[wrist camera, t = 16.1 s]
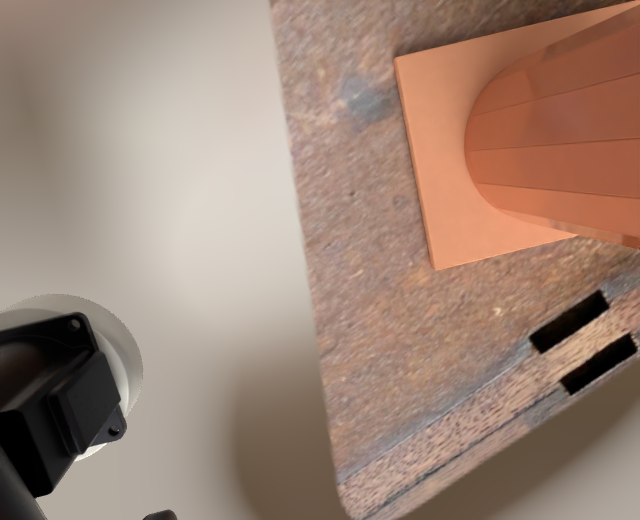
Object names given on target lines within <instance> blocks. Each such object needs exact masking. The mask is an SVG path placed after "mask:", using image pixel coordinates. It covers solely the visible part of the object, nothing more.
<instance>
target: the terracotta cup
mask: <svg viewBox="0 0 640 520" xmlns="http://www.w3.org/2000/svg"><path fill="white" fill-rule="evenodd" d="M464 149H465V159H466V164H467V168H468V171H469V174H470V177H471V179H472V181H473V183H474V185H475V187H476V188H477V190H478V191H479V193H480V194H481V196H482V197H483V198H484V199H485V200H486V201H487V202H488V203H489V204H490V205H492V206H493V207H494V208H495V209H497V210H499V211H500V212H502V213H504V214H506V215H508V216H511V217H514V218H517V219H519V220H521V221H523V222H527V223H531V224H536V225H540V226H544V227H548V228H552V229H556V230H560V231H565V232H569V233H573V234H577V235H581V236H585V237H589V238H594V239H598V240H602V241H606V242H610V243H614V244H618V245H623V246H627V247H631V248H635V249H639V250H640V4H639V5H637V6H635V7H633V8H631V9H628V10H626V11H624V12H622V13H619V14H617V15H615V16H613V17H611V18H608V19H606V20H604V21H602V22H599V23H597V24H595V25H593V26H591V27H588V28H586V29H584V30H582V31H580V32H577V33H575V34H573V35H571V36H568V37H566V38H564V39H562V40H560V41H557V42H555V43H553V44H551V45H549V46H546V47H544V48H542V49H540V50H537V51H535V52H533V53H531V54H529V55H526V56H524V57H522V58H520V59H518V60H516V61H515V62H513V63H512V64H511V65H509V66H507V67H505V68H504V69H503V70H502V71H500V72H499V73H498V74H496V75H495V76H494V77H493V78H492V79H491V80H490V81H489V82H488V84H487V85H486V86H485V87H484V89H483V90H482V91H481V93H480V94H479V96H478V98H477V99H476V101H475V103H474V105H473V108H472V110H471V112H470V115H469V118H468V121H467V126H466V131H465V141H464Z"/></svg>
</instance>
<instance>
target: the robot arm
mask: <svg viewBox="0 0 640 520" xmlns="http://www.w3.org/2000/svg"><path fill="white" fill-rule="evenodd" d="M72 320H76V321H78V322H79V324H80V327H75V326H74V325H73V324H72ZM120 401H121V397H120V394H119V391H118V388H117V386H116V383H115V380H114V377H113V374H112V372H111V369H110V366H109V363H108V361H107V358H106V355H105V354H104V353H103V352H101V351H100V350H99V347H98V344H97V342H96V339H95V336H94V333H93V331H92V328H91V325H90V322H89V320H88V318H87V316H86V315H85V314H83V313H81V312H72V313H68V314H64V315H60V316H56V317H52V318H48V319H44V320H40V321H35V322H31V323H27V324H23V325H19V326H15V327H11V328H7V329H3V330H0V520H47V518H46V517H45V515H44V513H43V512H42V510H41V509H40V507H39V505H38V504H37V502H36V500H35V499H36V498H37V497H41V496H44V495H48V494H50V493H51V492H52V491H53V490H54V489H55V487H56V486H57V484H58V483H59V482H60V480H61V479H62V477H63V476H64V475H65V473H66V472H67V470H68V469H69V468H70V466H71V465H72V463H73V462H74V461H75V459H76V458H77V456H78V455H82V454H84V453H85V452H86V451H87V449H88V448H89V447H92V446H96V445H100V444H104V443H108V442H112V441H116V440H118V439H121V437H122V436H123V435H124V433H125V432H126V429H127V425H126V421H125V418H124V416H123V413H122V410H121V407H120V405H119V403H120ZM112 426H115V427H117V428H118V429H119V431H114V430H112V428H111V427H112ZM143 520H177V517H176V515H175V513H174V512H173V511H171V510H165V511H161V512H157V513H153V514H149V515H147V516H146V517H145V518H144V519H143Z"/></svg>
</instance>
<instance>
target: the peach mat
mask: <svg viewBox="0 0 640 520" xmlns="http://www.w3.org/2000/svg"><path fill="white" fill-rule="evenodd" d="M639 4H640V0H634V1H630V2H626V3H621V4H617V5H613V6H609V7H605V8H600V9H596V10H592V11H588V12H583V13H579V14H575V15H571V16H567V17H562V18H558V19H554V20H550V21H545V22H541V23H537V24H533V25H529V26H524V27H520V28H516V29H512V30H507V31H503V32H499V33H495V34H491V35H486V36H482V37H478V38H474V39H469V40H465V41H461V42H457V43H453V44H448V45H444V46H440V47H436V48H432V49H427V50H423V51H419V52H415V53H410V54H406V55H402V56H398V57H396V58H395V59H394V60H393V62H394V68H395V73H396V78H397V84H398V89H399V94H400V100H401V105H402V110H403V116H404V121H405V126H406V132H407V137H408V142H409V148H410V153H411V158H412V164H413V169H414V174H415V180H416V185H417V190H418V196H419V201H420V206H421V212H422V217H423V222H424V228H425V233H426V238H427V244H428V249H429V254H430V260H431V265H432V268H433V269H434V270H436V271H437V270H441V269H445V268H449V267H453V266H457V265H461V264H465V263H469V262H473V261H477V260H481V259H485V258H489V257H493V256H497V255H501V254H505V253H509V252H513V251H517V250H521V249H525V248H529V247H533V246H537V245H541V244H545V243H549V242H553V241H557V240H561V239H565V238H569V237H573V236H578V235H577V234H573V233H569V232H565V231H560V230H556V229H552V228H548V227H544V226H540V225H536V224H531V223H527V222H523V221H521V220H519V219H517V218H514V217H511V216H508V215H506V214H504V213H502V212H500V211H499V210H497V209H495V208H494V207H493V206H492V205H490V204H489V203H488V202H487V201H486V200H485V199H484V198H483V197H482V196H481V194H480V193H479V191H478V190H477V188H476V187H475V185H474V183H473V181H472V179H471V177H470V174H469V171H468V168H467V164H466V159H465V149H464V141H465V131H466V126H467V121H468V118H469V115H470V112H471V110H472V108H473V105H474V103H475V101H476V99H477V98H478V96H479V94H480V93H481V91H482V90H483V89H484V87H485V86H486V85H487V84H488V82H489V81H490V80H491V79H492V78H493V77H494V76H495V75H496V74H498V73H499V72H500V71H502V70H503V69H504V68H505V67H507V66H509V65H511V64H512V63H513V62H515V61H516V60H518V59H520V58H522V57H524V56H526V55H529V54H531V53H533V52H535V51H537V50H540V49H542V48H544V47H546V46H549V45H551V44H553V43H555V42H557V41H560V40H562V39H564V38H566V37H568V36H571V35H573V34H575V33H577V32H580V31H582V30H584V29H586V28H588V27H591V26H593V25H595V24H597V23H599V22H602V21H604V20H606V19H608V18H611V17H613V16H615V15H617V14H619V13H622V12H624V11H626V10H628V9H631V8H633V7H635V6H637V5H639Z"/></svg>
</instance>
